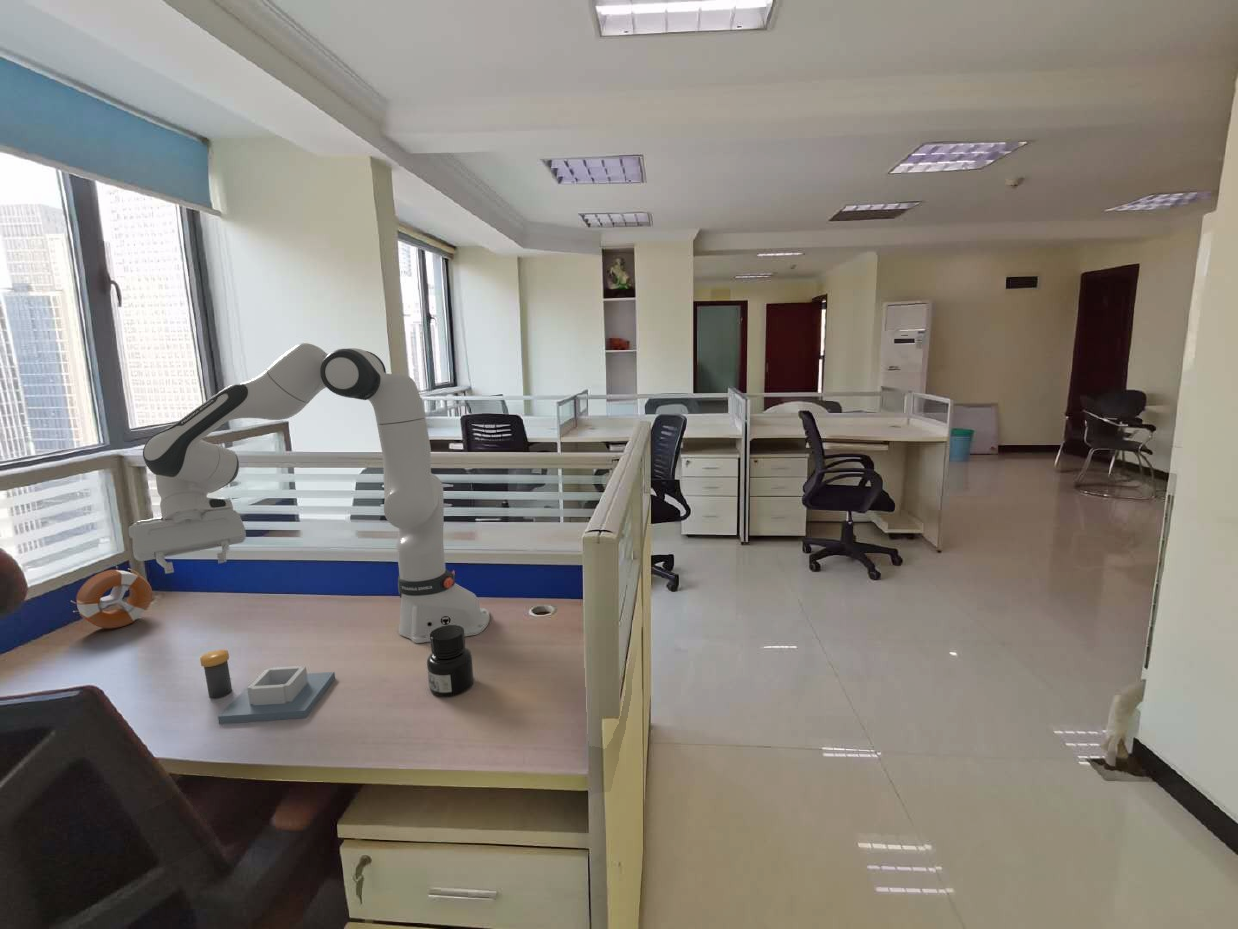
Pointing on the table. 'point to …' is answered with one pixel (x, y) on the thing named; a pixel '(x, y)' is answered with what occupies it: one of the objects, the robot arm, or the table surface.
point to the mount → (278, 695)
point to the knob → (217, 673)
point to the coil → (113, 598)
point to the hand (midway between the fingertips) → (196, 566)
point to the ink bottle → (449, 662)
